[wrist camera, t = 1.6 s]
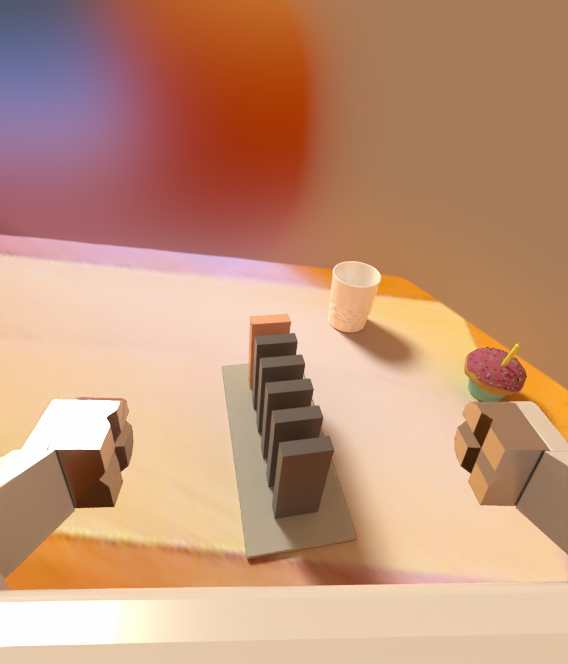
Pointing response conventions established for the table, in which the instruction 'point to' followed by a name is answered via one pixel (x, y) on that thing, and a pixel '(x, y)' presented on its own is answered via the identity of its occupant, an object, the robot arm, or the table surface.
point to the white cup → (352, 295)
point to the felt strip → (257, 496)
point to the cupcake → (494, 373)
